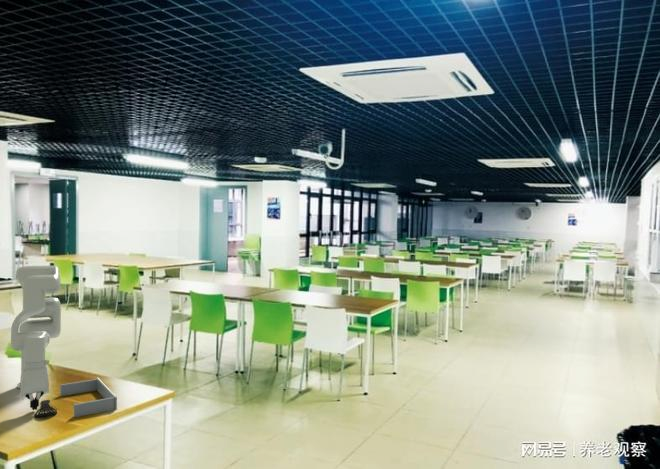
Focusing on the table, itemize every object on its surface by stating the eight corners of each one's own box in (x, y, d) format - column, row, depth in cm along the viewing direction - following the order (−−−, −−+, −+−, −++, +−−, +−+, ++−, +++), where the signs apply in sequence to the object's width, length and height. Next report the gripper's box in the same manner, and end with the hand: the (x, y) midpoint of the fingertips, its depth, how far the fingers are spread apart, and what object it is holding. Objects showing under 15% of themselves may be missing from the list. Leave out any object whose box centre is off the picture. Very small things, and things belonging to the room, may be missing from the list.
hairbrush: (56, 394, 226) (57, 408, 204) (56, 402, 226) (57, 417, 204) (34, 397, 222) (34, 412, 200) (34, 405, 222) (34, 421, 200)
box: (60, 395, 230) (60, 383, 230) (98, 389, 240) (98, 377, 239) (74, 417, 204) (74, 403, 204) (116, 409, 214) (116, 395, 214)
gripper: (53, 360, 217) (53, 402, 217) (12, 365, 208) (12, 409, 208) (56, 364, 211) (56, 407, 211) (14, 369, 202) (14, 415, 202)
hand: (34, 408), depth 209 cm, fingers closed
